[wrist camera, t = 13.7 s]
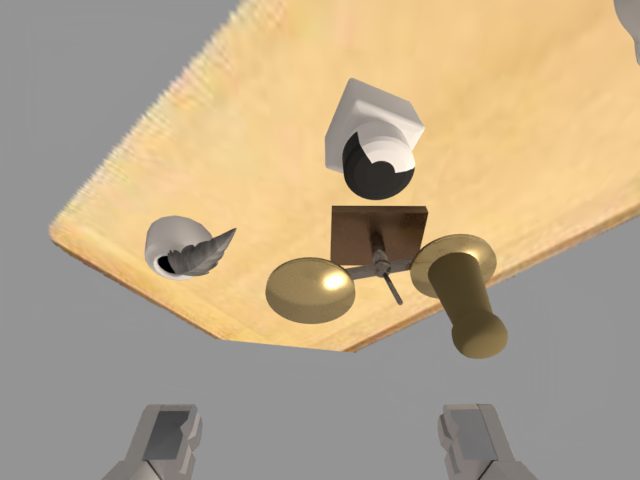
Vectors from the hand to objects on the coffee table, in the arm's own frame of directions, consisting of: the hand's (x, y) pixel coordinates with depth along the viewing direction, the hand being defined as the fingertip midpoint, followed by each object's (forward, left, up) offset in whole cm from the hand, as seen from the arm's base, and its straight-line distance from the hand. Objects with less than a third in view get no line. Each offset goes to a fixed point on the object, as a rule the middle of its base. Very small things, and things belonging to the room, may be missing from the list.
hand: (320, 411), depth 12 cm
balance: (-7, +18, -33) cm, 39 cm away
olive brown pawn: (-16, +18, -26) cm, 36 cm away
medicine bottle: (-5, +3, -33) cm, 34 cm away
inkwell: (+16, +17, -34) cm, 41 cm away
